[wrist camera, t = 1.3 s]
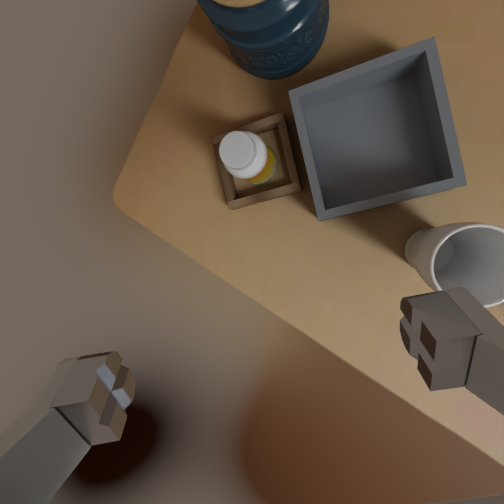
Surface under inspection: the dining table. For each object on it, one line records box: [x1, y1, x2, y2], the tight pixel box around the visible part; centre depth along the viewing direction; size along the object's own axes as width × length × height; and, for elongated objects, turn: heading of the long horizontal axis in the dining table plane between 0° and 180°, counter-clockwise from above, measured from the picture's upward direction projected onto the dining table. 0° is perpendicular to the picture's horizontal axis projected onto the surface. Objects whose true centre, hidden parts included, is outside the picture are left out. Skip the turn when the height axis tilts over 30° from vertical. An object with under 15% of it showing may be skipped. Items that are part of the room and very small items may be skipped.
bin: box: [288, 37, 467, 221], centre depth 37 cm, size 15×15×6 cm
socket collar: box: [212, 112, 303, 210], centre depth 42 cm, size 10×10×2 cm
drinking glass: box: [405, 222, 504, 308], centre depth 31 cm, size 7×7×15 cm
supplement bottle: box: [219, 131, 277, 184], centre depth 39 cm, size 5×5×10 cm
